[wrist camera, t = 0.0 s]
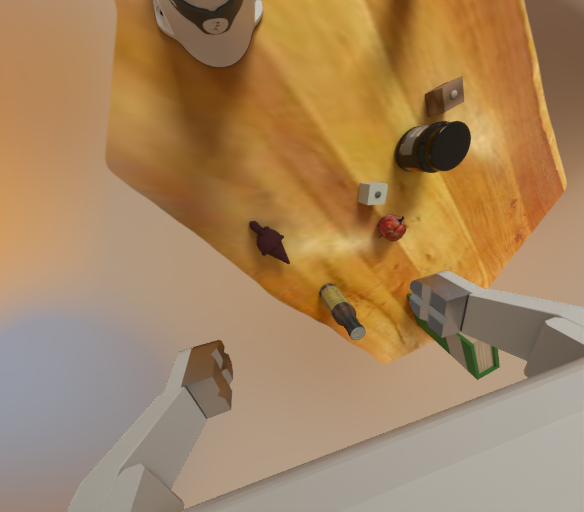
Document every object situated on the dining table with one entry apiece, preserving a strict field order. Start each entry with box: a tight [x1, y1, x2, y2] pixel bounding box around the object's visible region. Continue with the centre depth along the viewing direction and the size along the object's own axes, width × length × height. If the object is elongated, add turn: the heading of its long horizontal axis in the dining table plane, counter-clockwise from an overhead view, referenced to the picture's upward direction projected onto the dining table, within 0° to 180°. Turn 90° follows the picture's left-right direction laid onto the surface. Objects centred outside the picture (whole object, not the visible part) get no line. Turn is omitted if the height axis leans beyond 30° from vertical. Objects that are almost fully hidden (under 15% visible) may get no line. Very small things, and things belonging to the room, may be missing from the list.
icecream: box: [249, 221, 290, 264], centre depth 55 cm, size 7×7×15 cm
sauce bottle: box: [320, 284, 366, 340], centre depth 60 cm, size 6×6×20 cm
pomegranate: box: [378, 215, 406, 242], centre depth 60 cm, size 7×7×10 cm
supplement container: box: [396, 121, 471, 173], centre depth 50 cm, size 10×11×12 cm
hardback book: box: [407, 294, 499, 380], centre depth 70 cm, size 18×7×24 cm, turn 30°
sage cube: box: [358, 182, 388, 205], centre depth 56 cm, size 5×5×5 cm
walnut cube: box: [425, 77, 464, 116], centre depth 50 cm, size 5×5×5 cm
